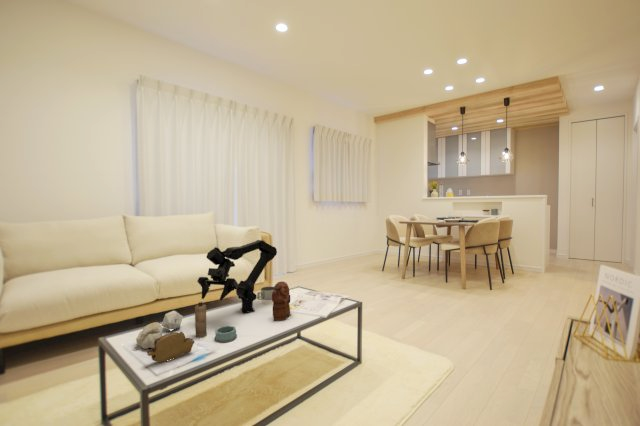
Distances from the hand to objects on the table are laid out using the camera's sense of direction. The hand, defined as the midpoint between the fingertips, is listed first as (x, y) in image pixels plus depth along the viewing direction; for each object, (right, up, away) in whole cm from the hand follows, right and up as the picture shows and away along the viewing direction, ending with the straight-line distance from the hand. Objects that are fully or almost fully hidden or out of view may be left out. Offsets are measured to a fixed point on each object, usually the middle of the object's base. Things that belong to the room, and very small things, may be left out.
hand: (211, 299), depth 147 cm
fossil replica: (-20, -15, -16) cm, 29 cm away
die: (-18, -14, 0) cm, 23 cm away
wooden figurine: (+31, -13, +14) cm, 36 cm away
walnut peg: (-2, -14, -7) cm, 16 cm away
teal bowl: (+9, -14, -10) cm, 19 cm away
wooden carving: (-6, -15, -27) cm, 32 cm away
